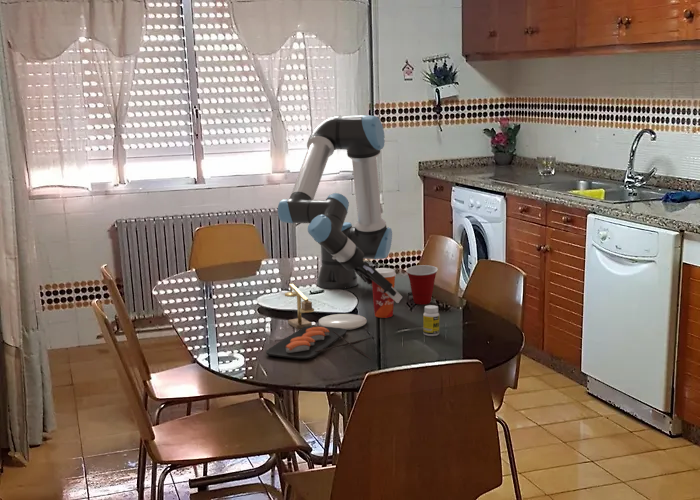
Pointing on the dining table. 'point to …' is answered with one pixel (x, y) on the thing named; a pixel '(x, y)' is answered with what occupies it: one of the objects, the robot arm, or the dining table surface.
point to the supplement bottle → (431, 321)
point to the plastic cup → (422, 282)
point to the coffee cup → (383, 295)
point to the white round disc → (343, 321)
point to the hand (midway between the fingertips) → (392, 296)
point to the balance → (305, 308)
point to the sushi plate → (310, 342)
